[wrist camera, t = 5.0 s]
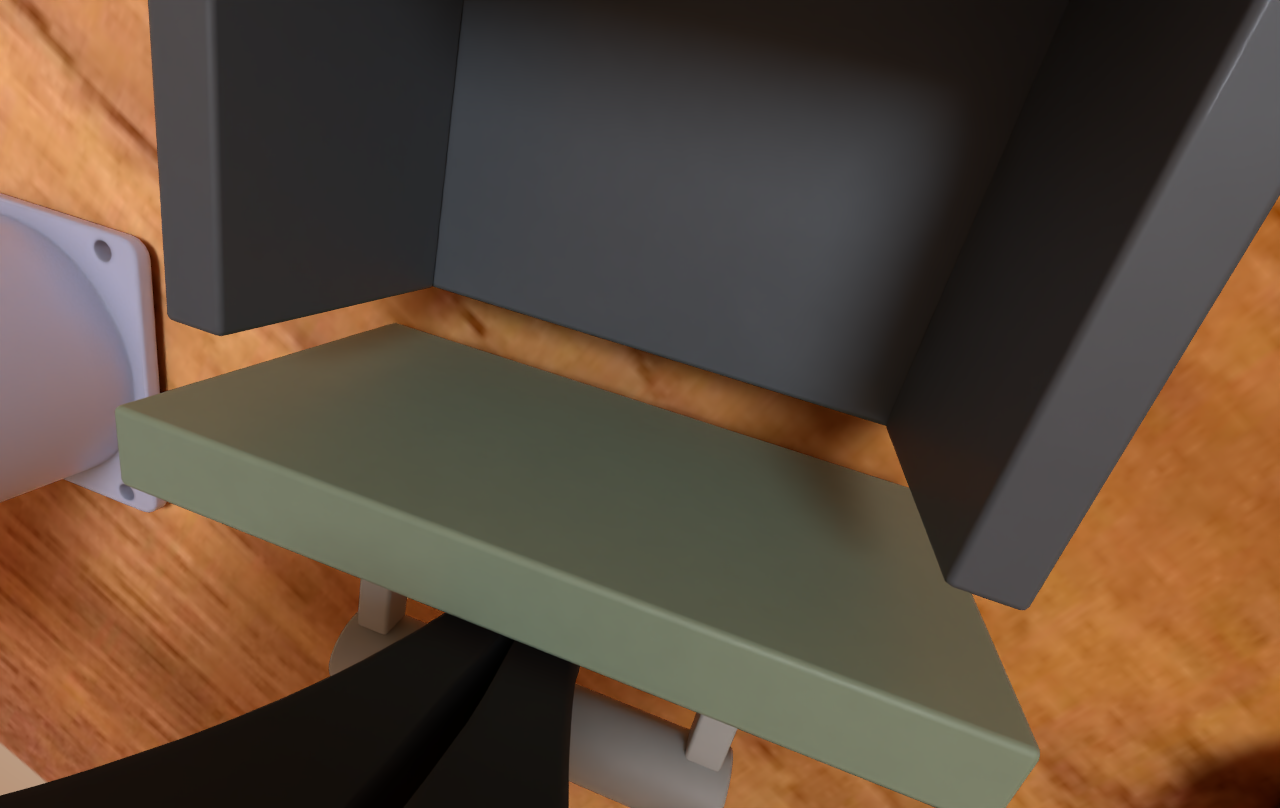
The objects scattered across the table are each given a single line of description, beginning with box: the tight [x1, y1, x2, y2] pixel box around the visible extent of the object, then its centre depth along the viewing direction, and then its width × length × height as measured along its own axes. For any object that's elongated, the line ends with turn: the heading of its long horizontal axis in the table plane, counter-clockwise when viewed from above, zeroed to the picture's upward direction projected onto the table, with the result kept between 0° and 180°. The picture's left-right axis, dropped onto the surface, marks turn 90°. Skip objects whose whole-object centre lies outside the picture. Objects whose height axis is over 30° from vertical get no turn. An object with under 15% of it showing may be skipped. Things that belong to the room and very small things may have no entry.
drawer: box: [115, 0, 1280, 808], centre depth 8 cm, size 18×11×6 cm, turn 166°
